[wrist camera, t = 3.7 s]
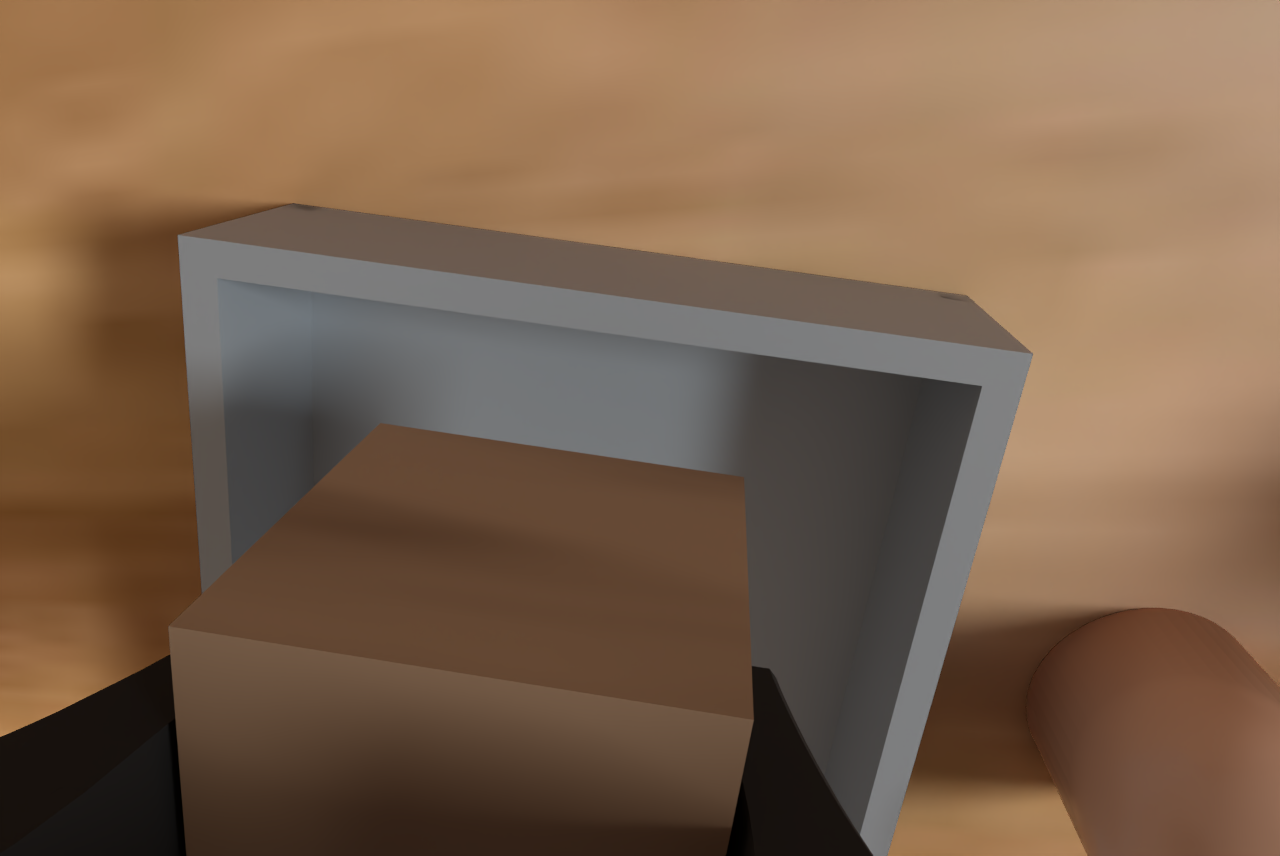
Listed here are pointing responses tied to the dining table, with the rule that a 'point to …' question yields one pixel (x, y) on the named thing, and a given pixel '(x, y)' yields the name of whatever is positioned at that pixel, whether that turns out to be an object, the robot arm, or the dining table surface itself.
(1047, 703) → the terracotta cylinder
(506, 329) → the tote
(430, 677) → the walnut cube
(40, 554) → the dining table surface
